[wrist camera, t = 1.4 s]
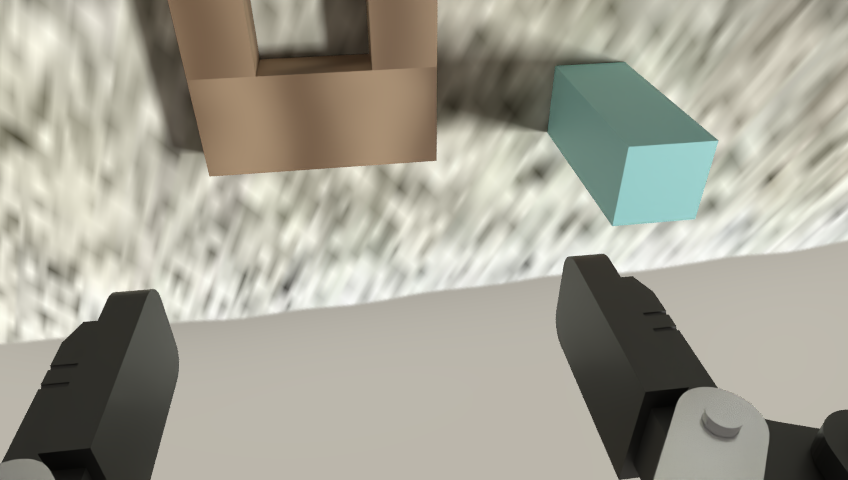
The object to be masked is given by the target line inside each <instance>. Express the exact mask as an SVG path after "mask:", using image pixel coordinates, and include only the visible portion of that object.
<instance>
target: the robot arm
mask: <svg viewBox="0 0 848 480" xmlns="http://www.w3.org/2000/svg"><path fill="white" fill-rule="evenodd" d="M556 328H557V334H558V339H559V341H560V344H561V347H562V349H563V351H564V354H565V356H566V358H567V361H568V363H569V365H570V367H571V370H572V372H573V375H574V377H575V379H576V382H577V384H578V386H579V389H580V391H581V393H582V395H583V398H584V400H585V402H586V405H587V407H588V409H589V411H590V414H591V416H592V419H593V421H594V423H595V425H596V428H597V430H598V433H599V435H600V437H601V439H602V442H603V444H604V446H605V449H606V451H607V453H608V456H609V458H610V460H611V463H612V465H613V467H614V470H615V472H616V474H617V477H618V479H619V480H621V479H630V478H638V477H640V479H641V480H848V410H840V411H837V412H834V413H832V414H831V415H829V416H828V417H827V418H826V419H825V421H824V423H823V425H822V426H821V428H820V429H818V428H811V427H806V426H800V425H794V424H788V423H782V422H776V421H771V420H766V419H764V418H763V416H762V415H761V413H760V412H759V411H758V410H757V409H756V408H755V407H754V406H753V405H752V404H750V403H749V402H748V401H746V400H745V399H743V398H742V397H740V396H738V395H736V394H734V393H732V392H729V391H726V390H723V389H719V388H718V387H717V386H716V385H715V383H714V382H713V380H712V379H711V377H710V376H709V374H708V373H707V371H706V370H705V368H704V367H703V365H702V364H701V362H700V361H699V360H698V358H697V356H696V355H695V354H694V352H693V350H692V349H691V347H690V346H689V344H688V343H687V341H686V340H685V338H684V337H683V335H682V334H681V333H680V331H679V330H677V329H676V325H675V324H674V322H673V321H672V319H671V318H670V316H669V315H666V310H665V309H664V307H663V306H662V304H661V303H660V301H659V300H658V298H657V297H656V295H655V294H654V293H653V291H651V290H650V289H649V288H647V287H646V286H645V285H643V284H642V283H641V282H639V281H638V280H637V279H635V278H634V277H633V276H632V277H620V275H619V274H618V272H617V270H616V269H615V267H614V266H613V264H612V262H611V261H610V259H609V258H608V256H606V255H605V254H595V255H583V256H571V257H567V258H566V260H565V262H564V267H563V273H562V279H561V285H560V292H559V298H558V304H557V310H556ZM50 366H51V370H48V371H47V373H46V376H45V377H44V379H43V382H42V383H41V389H39V390H38V391H37V393H36V395H35V397H34V399H33V401H32V403H31V405H30V407H29V409H28V411H27V413H26V415H25V417H24V419H23V421H22V423H21V425H20V427H19V429H18V431H17V433H16V435H15V437H14V439H13V441H12V443H11V445H10V447H9V449H8V451H7V453H6V455H5V457H4V459H3V461H2V463H0V480H150V479H151V475H152V472H153V468H154V464H155V460H156V457H157V453H158V449H159V446H160V442H161V438H162V434H163V430H164V427H165V423H166V419H167V415H168V412H169V408H170V404H171V401H172V397H173V393H174V390H175V386H176V382H177V378H178V371H179V357H178V350H177V346H176V343H175V340H174V337H173V333H172V330H171V327H170V324H169V321H168V318H167V315H166V312H165V309H164V306H163V303H162V300H161V298H160V295H159V293H158V292H157V291H156V290H155V289H150V290H138V291H125V292H114V293H112V294H111V295H110V296H109V297H108V299H107V302H106V304H105V306H104V308H103V310H102V313H101V315H100V317H99V319H98V321H90V322H83V323H82V324H81V325H80V326H79V327H78V328H77V329H76V330H75V331H74V332H73V333H72V334H71V335H70V336H69V337H67V338H66V339H65V340H64V341H63V342H62V344H61V346H60V348H59V350H58V352H57V354H56V356H55V358H54V360H53V362H52V363H51V365H50Z"/></svg>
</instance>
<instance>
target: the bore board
mask: <svg viewBox="0 0 848 480" xmlns="http://www.w3.org/2000/svg"><path fill="white" fill-rule="evenodd" d="M168 4H169V8H170V12H171V17H172V21H173V25H174V29H175V33H176V38H177V42H178V46H179V50H180V54H181V59H182V63H183V67H184V71H185V75H186V79H187V84H188V88H189V92H190V96H191V100H192V105H193V109H194V113H195V117H196V121H197V126H198V130H199V134H200V138H201V142H202V147H203V151H204V155H205V159H206V163H207V168H208V172H209V176H223V175H238V174H252V173H266V172H281V171H295V170H309V169H324V168H338V167H352V166H366V165H381V164H395V163H409V162H424V161H436V152H437V0H366V8H367V25H368V42H369V54H355V55H335V56H315V57H296V58H276V59H260V57H259V51H258V45H257V39H256V32H255V26H254V20H253V14H252V8H251V2H250V0H168Z"/></svg>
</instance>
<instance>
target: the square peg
mask: <svg viewBox="0 0 848 480" xmlns="http://www.w3.org/2000/svg"><path fill="white" fill-rule="evenodd" d="M547 133H548V134H549V135H550V137H551V138H552V140H553V141H554V143H555V144H556V146H557V147H558V148H559V150H560V151H561V153H562V154H563V156H564V157H565V159H566V160H567V161H568V163H569V164H570V166H571V167H572V169H573V170H574V171H575V173H576V174H577V176H578V177H579V179H580V180H581V182H582V183H583V184H584V186H585V187H586V189H587V190H588V192H589V193H590V195H591V196H592V197H593V199H594V200H595V202H596V203H597V205H598V206H599V207H600V209H601V210H602V212H603V213H604V215H605V216H606V218H607V219H608V220H609V222H610V223H611V225H612V226H619V225H631V224H643V223H655V222H667V221H679V220H691V219H695V218H696V214H697V211H698V208H699V204H700V201H701V197H702V194H703V191H704V187H705V184H706V181H707V177H708V174H709V171H710V167H711V164H712V161H713V157H714V154H715V150H716V147H717V144H718V140H717V139H716V138H715V137H714V136H712V135H711V134H710V133H709V132H708V131H706V130H705V129H704V128H703V127H702V126H700V125H699V124H698V123H697V122H696V121H694V120H693V119H692V118H691V117H690V116H688V115H687V114H686V113H685V112H684V111H682V110H681V109H680V108H679V107H678V106H676V105H675V104H674V103H673V102H672V101H671V100H669V99H668V98H667V97H666V96H665V95H663V94H662V93H661V92H660V91H659V90H657V89H656V88H655V87H654V86H653V85H651V84H650V83H649V82H648V81H647V80H645V79H644V78H643V77H642V76H641V75H639V74H638V73H637V72H636V71H635V70H633V69H632V68H631V67H630V66H629V65H628V64H626V63H625V62H616V63H598V64H579V65H561V66H555V72H554V81H553V89H552V98H551V106H550V114H549V123H548V131H547Z"/></svg>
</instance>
